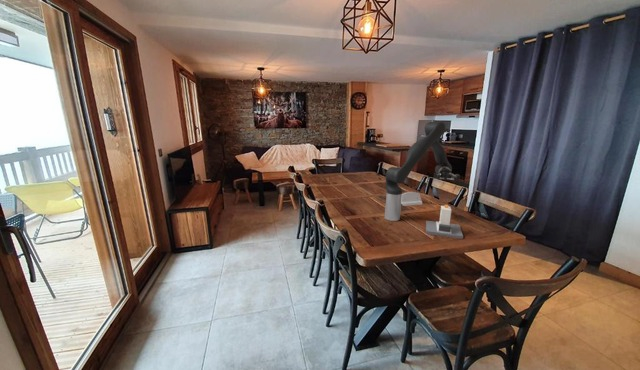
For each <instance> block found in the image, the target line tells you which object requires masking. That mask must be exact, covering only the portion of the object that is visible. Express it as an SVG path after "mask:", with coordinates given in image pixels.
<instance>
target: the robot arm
mask: <svg viewBox="0 0 640 370" xmlns="http://www.w3.org/2000/svg"><path fill="white" fill-rule="evenodd" d="M445 131H446V123H444V122H442V121H429V122H427V123H425V126H424V133H425V137H423V138H420V139H419V140H417V141H415V142H414V143H413V144H412V145H411V146H410V148H409V149H408V150H407V152H406V157H405V158H406V159H405V162H404V163H403V164H402V166H400V167H396V166H391V167H388V169H387V170H386V173H385V189H386V194H385V195H386V198H385V206H384V207H385V208H384V220H387V221H389V222H390V221H391V222H397V221H399V220H401V209H402V204H401V199H402V194H403V189H402V187H401V186H399V184H402V183H403V182H405V180H406V179H407V178H408V176H409V175H410V173H411V172H412V171H413V168H415V166H416V165H417V163H419V162H420V160H421V159H422V158H423V156H425V154H426V153H427V151H428V150H429V149H430V148H432V153H433V155H434V160H435V162H436V163H437V164H438V165H436V166H435V168H434V172H433V179H437V180H438V181H440V180H442V181H449V180H452V181H454V182H456V181H460V177H461V176H460V174H459V173H455V174H454V173H453V172H452V171H453V167H452V164H451V163H450V162H449V160H448V157H447V153H446V150H445V148H444V146H443V145H442V144H441V143H440V142H439V139H440V138H441V137H442V136H443V134H444V133H445Z"/></svg>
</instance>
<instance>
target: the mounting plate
mask: <svg viewBox="0 0 640 370" xmlns="http://www.w3.org/2000/svg"><path fill="white" fill-rule="evenodd" d="M449 225H450V226H451V230H450V232H445V231H439V221H433V220H432V221H431V220H426V221H425V234H427V235H433V236H434V235H435V236H441V237H447V238H454V239H462V240H463V239H464V235H463V232H462V228H461V225H460V224H454V223H450V224H449Z"/></svg>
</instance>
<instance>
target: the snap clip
mask: <svg viewBox="0 0 640 370" xmlns="http://www.w3.org/2000/svg"><path fill="white" fill-rule="evenodd" d="M450 230H451V226H450V225H444V224H439V231H445V232H450Z"/></svg>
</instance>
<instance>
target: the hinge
mask: <svg viewBox="0 0 640 370" xmlns="http://www.w3.org/2000/svg"><path fill="white" fill-rule="evenodd" d="M401 205H402V206H404V207H407V206H419V205H421V206H422V205H423V201H422V198H421V194H420V193H419V192H415V191H408V192H404V193H403V192H402V199H401Z"/></svg>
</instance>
